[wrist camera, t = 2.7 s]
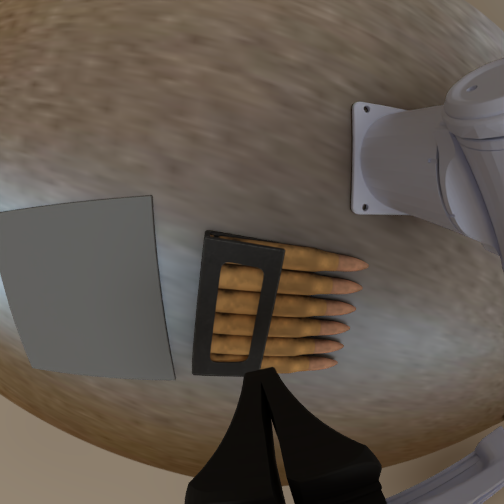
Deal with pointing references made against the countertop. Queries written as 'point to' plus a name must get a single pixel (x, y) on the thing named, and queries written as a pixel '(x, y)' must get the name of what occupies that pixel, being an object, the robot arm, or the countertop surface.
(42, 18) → the countertop surface
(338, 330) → the ammunition clip
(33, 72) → the countertop surface
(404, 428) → the countertop surface
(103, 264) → the mat
